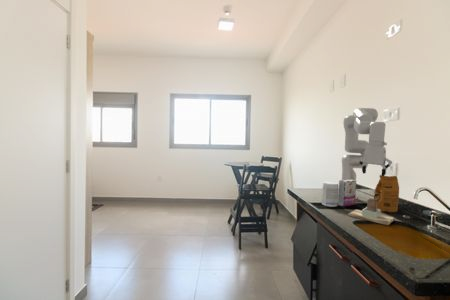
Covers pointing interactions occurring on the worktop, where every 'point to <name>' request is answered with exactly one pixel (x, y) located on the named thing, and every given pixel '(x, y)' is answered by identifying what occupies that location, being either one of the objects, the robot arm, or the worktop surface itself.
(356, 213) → the maple board
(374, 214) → the pale green block
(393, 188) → the coffee package
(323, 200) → the supplement tub
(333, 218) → the worktop surface
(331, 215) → the worktop surface
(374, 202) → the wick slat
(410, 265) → the worktop surface
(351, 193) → the candy bar box
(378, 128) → the robot arm
